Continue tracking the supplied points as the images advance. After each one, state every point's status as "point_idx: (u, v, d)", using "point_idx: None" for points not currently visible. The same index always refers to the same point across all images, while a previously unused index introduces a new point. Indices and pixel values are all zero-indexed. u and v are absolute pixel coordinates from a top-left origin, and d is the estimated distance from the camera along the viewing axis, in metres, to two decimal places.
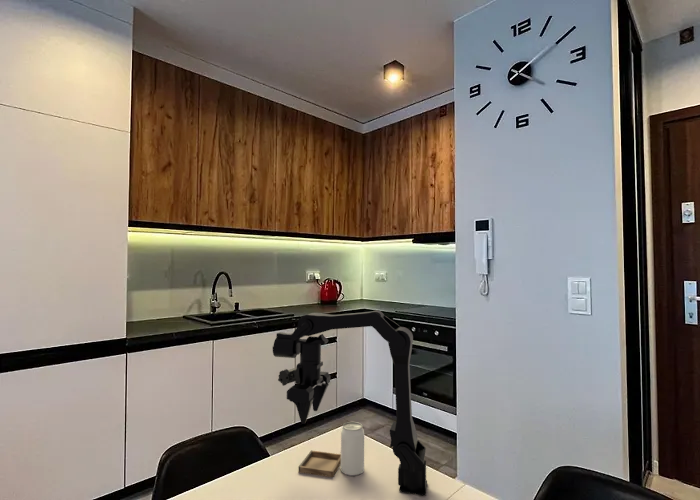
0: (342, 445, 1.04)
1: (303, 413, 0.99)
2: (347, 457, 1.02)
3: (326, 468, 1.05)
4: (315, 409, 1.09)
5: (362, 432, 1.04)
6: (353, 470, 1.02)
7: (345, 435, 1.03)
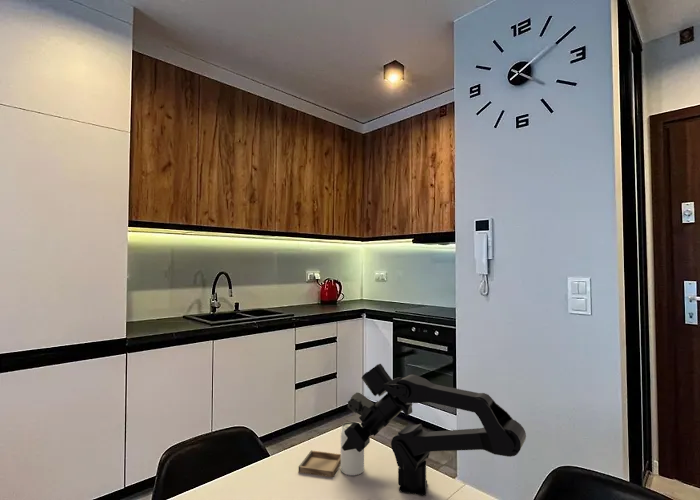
0: (342, 445, 1.03)
1: (349, 445, 1.01)
2: (347, 457, 1.02)
3: (326, 468, 1.05)
4: None
5: None
6: (353, 470, 1.02)
7: (345, 435, 1.03)
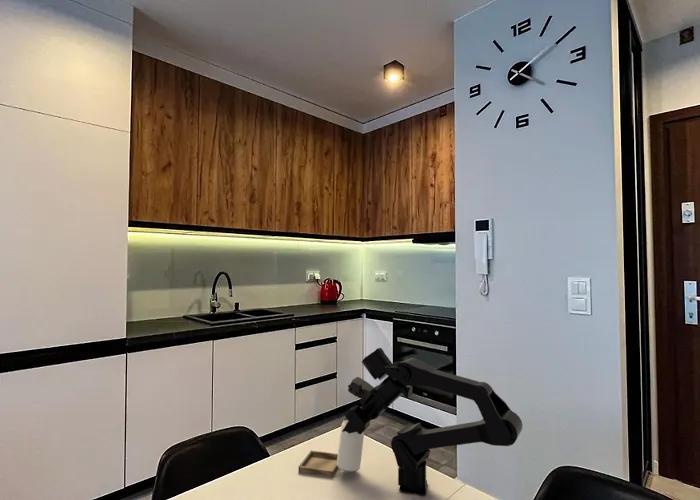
0: (342, 439, 1.03)
1: (349, 428, 1.01)
2: (346, 451, 1.01)
3: (326, 468, 1.05)
4: None
5: None
6: (350, 465, 1.00)
7: None
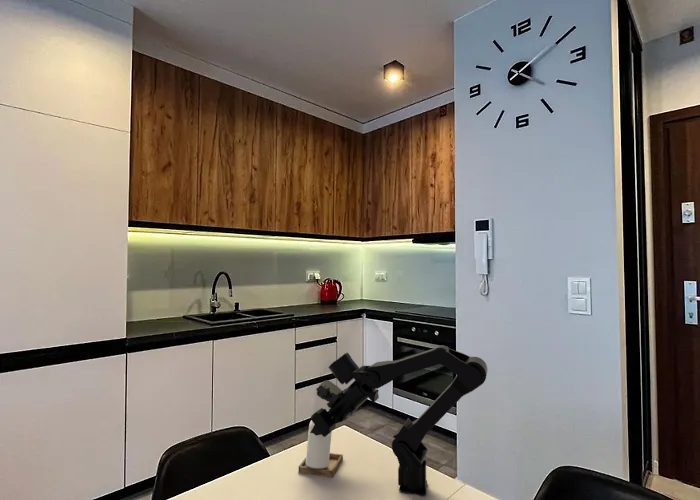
0: (309, 437, 1.05)
1: (316, 431, 1.04)
2: (313, 449, 1.03)
3: (326, 468, 1.05)
4: None
5: None
6: (318, 462, 1.02)
7: (313, 426, 1.05)
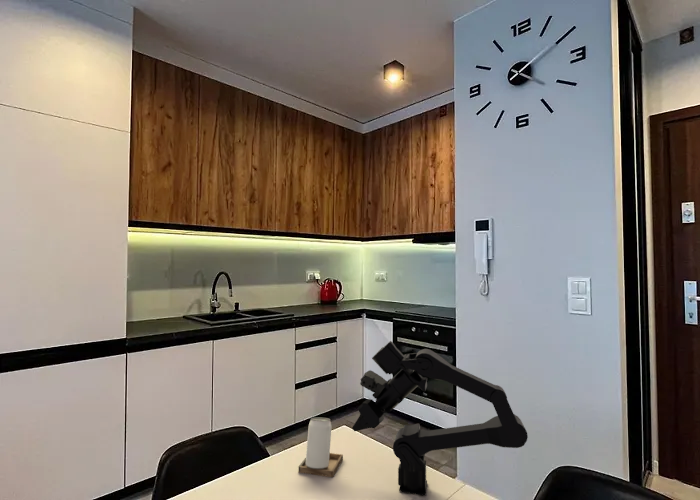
0: (309, 437, 1.05)
1: (360, 425, 0.97)
2: (313, 449, 1.03)
3: (326, 468, 1.05)
4: None
5: (329, 425, 1.07)
6: (318, 462, 1.02)
7: (313, 426, 1.05)
